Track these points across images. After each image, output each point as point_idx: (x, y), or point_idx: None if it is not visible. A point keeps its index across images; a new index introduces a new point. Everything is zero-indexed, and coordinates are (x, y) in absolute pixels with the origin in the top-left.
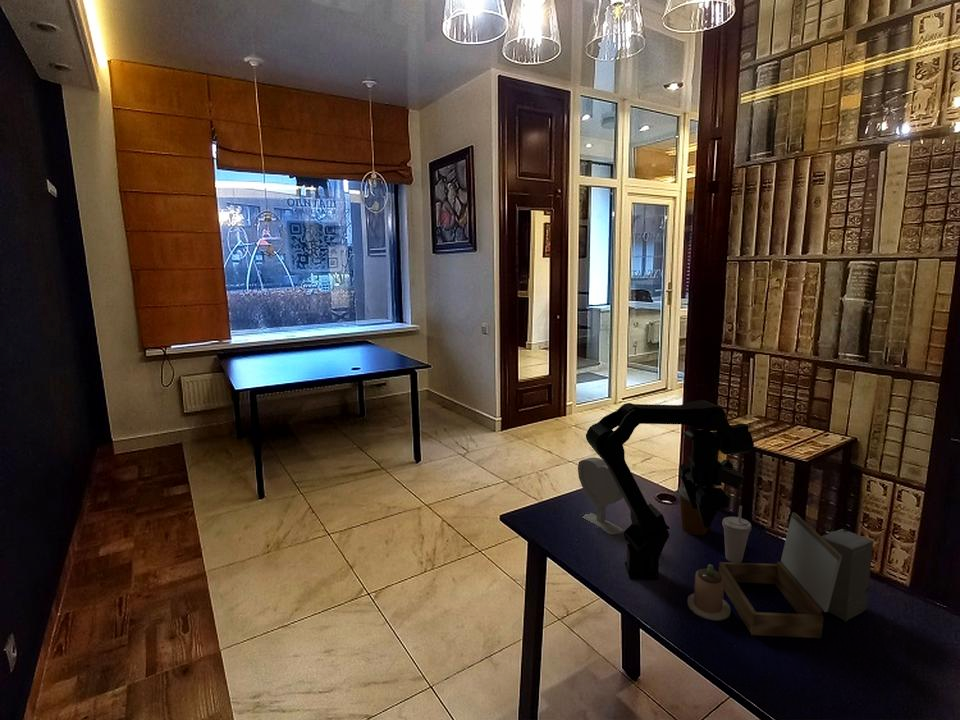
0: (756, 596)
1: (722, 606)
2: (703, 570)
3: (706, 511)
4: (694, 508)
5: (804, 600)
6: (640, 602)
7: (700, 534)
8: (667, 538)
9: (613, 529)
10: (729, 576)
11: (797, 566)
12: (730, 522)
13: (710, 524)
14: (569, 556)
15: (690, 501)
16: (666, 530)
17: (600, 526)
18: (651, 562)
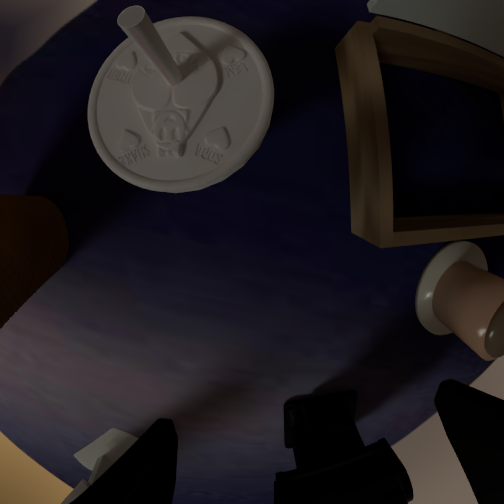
0: (415, 143)
1: (464, 259)
2: (494, 344)
3: None
4: (174, 431)
5: (500, 73)
6: (417, 409)
7: (64, 224)
8: (384, 463)
9: (129, 446)
10: (453, 237)
11: (476, 18)
12: (181, 141)
13: (471, 388)
14: (266, 500)
15: (173, 492)
16: (404, 491)
17: None
18: (357, 432)
